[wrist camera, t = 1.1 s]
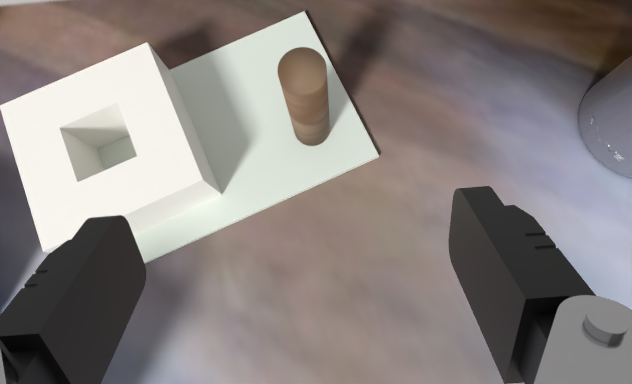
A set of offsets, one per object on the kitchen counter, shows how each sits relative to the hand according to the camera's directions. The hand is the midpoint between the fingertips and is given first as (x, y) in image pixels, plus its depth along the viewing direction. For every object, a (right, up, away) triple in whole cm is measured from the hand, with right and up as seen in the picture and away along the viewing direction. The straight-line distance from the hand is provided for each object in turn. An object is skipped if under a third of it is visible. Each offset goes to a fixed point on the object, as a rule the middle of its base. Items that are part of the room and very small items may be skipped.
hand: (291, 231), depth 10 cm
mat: (-9, +5, +25) cm, 28 cm away
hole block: (-15, +4, +25) cm, 29 cm away
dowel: (0, +6, +25) cm, 26 cm away
